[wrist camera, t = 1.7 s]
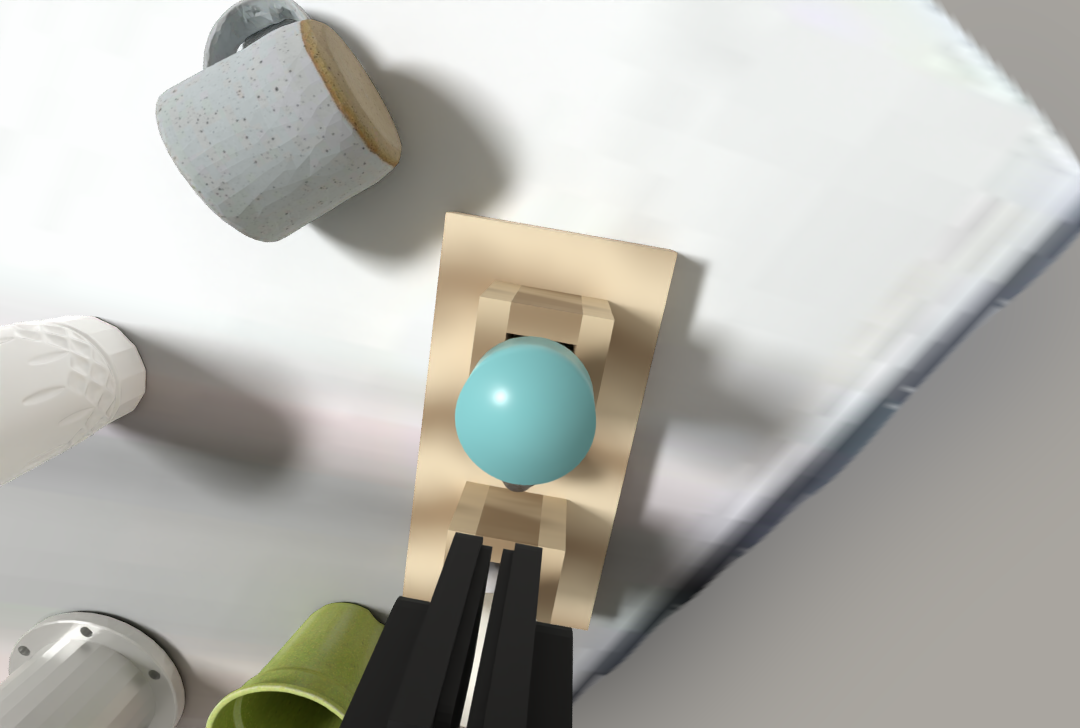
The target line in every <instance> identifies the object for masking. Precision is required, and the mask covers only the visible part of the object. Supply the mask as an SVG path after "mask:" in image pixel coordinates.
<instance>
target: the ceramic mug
mask: <svg viewBox="0 0 1080 728" xmlns="http://www.w3.org/2000/svg"><path fill="white" fill-rule="evenodd" d="M285 19H292V20H296V21H298V22H294V23H291V24H288V25H285V26H282V27H279V28H277V29H275V30H273V31H271V32H269V33H267V34H266V35H264V36H263V37H261V38H260V39H258V40H257V41H255V42H254V43H252V44H250V45H249V46H247V47H246V48H244V49H243V50H241V51H239V52H237V49H238V48H239V46H240V45H241V44H242V43H243V42H244V41H245V39H246V38H247V37H249V36H250V35H252V34H254V33H255V32H257V31H259V30H261V29H264V28H266V27H268V26H270V25H272V24H278V23H279V22H281V21H283V20H285ZM156 119H157V124H158V128H159V132H160V135H161V138H162V140H163V142H164V144H165V146H166V148H167V151H168V153H169V154H170V156H171V158H172V160H173V162H174V163H175V165H176V166H177V168H178V170H179V171H180V173H181V174H182V175H183V176H184V178H185V179H186V180H187V182H188V183H189V184H190V186H191V187H192V188H193V190H194V191H195V192H196V193H197V195H198V196H199V197H200V198H201V199H202V200H203V201H204V203H205V204H206V205H207V206H208V207H209V208H210V209H211V210H212V211H213V212H214V213H215V214H216V215H218V216H219V217H220V218H221V219H222V220H223V221H225V222H226V223H228V224H229V225H231V226H232V227H233V228H235V229H236V230H238V231H239V232H241V233H243V234H244V235H246V236H248V237H250V238H253V239H255V240H259V241H263V242H275V241H279V240H281V239H283V238H285V237H287V236H289V235H290V234H292V233H293V232H295V231H297V230H298V229H300V228H301V227H303V226H305V225H306V224H308V223H310V222H312V221H313V220H315V219H317V218H318V217H320V216H322V215H324V214H325V213H327V212H329V211H330V210H332V209H334V208H335V207H337V206H338V205H340V204H341V203H343V202H344V201H346V200H348V199H350V198H351V197H353V196H355V195H357V194H358V193H360V192H362V191H364V190H365V189H367V188H369V187H371V186H372V185H374V184H375V183H377V182H378V181H380V180H381V179H382V178H383V177H385V176H386V175H387V174H388V173H389V172H391V171H392V170H393V169H394V168H395V167H396V165H397V164H398V163H399V160H400V155H401V142H400V138H399V135H398V132H397V130H396V127H395V125H394V123H393V120H392V118H391V116H390V114H389V112H388V110H387V108H386V106H385V104H384V102H383V100H382V99H381V97H380V95H379V93H378V92H377V90H376V88H375V87H374V85H373V83H372V82H371V80H370V78H369V77H368V75H367V73H366V72H365V70H364V69H363V67H362V66H361V64H360V63H359V61H358V60H357V58H356V57H355V55H354V54H353V53H352V51H351V50H350V49H349V47H348V46H347V45H346V44H345V42H344V41H343V40H342V39H341V37H340V36H339V35H338V34H337V33H336V32H335V31H334V30H333V29H331V28H330V27H329V26H328V25H326V24H324V23H322V22H319V21H316V20H313V19H311V18H310V17H309V16H308V14H307V13H306V12H305V11H304V10H303V9H302V8H301V7H300V6H299V5H298V4H297V3H296V2H294V1H293V0H241V1H239V2H238V3H236V4H234V5H233V6H231V7H230V8H229V9H228V10H227V11H226V12H225V13H224V14H223V15H222V16H221V17H220V18H219V19H218V21H217V22H216V23H215V25H214V26H213V28H212V30H211V32H210V34H209V36H208V40H207V43H206V46H205V51H204V61H203V70H202V71H201V72H199V73H197V74H195V75H193V76H192V77H190V78H188V79H186V80H184V81H182V82H181V83H179V84H177V85H175V86H173V87H172V88H170V89H168V90H166V91H165V92H164V93H163V94H162V95H161V96H160V97H159V98H158V101H157V104H156Z"/></svg>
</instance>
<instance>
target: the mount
mask: <svg viewBox="0 0 1080 728" xmlns="http://www.w3.org/2000/svg"><path fill="white" fill-rule="evenodd" d="M677 254H678V253H677V252H675V251H673V250H670V249H664V248H659V247H653V246H647V245H642V244H636V243H630V242H625V241H619V240H613V239H608V238H602V237H596V236H591V235H585V234H579V233H573V232H568V231H562V230H556V229H551V228H545V227H539V226H534V225H528V224H522V223H517V222H511V221H505V220H500V219H494V218H488V217H483V216H477V215H471V214H465V213H460V212H446V215H445V224H444V233H443V242H442V250H441V259H440V268H439V277H438V286H437V295H436V304H435V313H434V322H433V330H432V339H431V348H430V357H429V366H428V375H427V384H426V393H425V401H424V410H423V419H422V428H421V437H420V446H419V455H418V464H417V473H416V481H415V490H414V499H413V508H412V517H411V526H410V535H409V544H408V553H407V561H406V570H405V579H404V588H403V597H407V598H413V599H418V600H424V601H429V602H431V599H432V596H433V593H434V590H435V588H436V585H437V582H438V579H439V577H440V574H441V571H442V568H443V565H444V563H445V560H446V557H447V554H448V552H449V549H450V546H451V543H452V540H453V538H454V535H455V533H456V532H459V533H464V534H470V535H475V536H481V537H483V545H487V546H492V547H493V548H492V555H491V561H490V562H495V563H500V561H501V557H502V552H503V549H509V550H514V548H515V543H519V544H525V545H530V546H536V547H541V548H543V551H542V562H541V573H540V583H539V594H538V605H537V616H536V619H537V621H538V622H543V623H549V624H555V625H560V626H566V627H571V628H577V629H582V630H588V627H589V623H590V619H591V615H592V610H593V606H594V602H595V598H596V594H597V589H598V585H599V581H600V577H601V573H602V568H603V564H604V560H605V556H606V552H607V547H608V543H609V539H610V535H611V531H612V526H613V522H614V518H615V514H616V510H617V505H618V501H619V497H620V493H621V489H622V485H623V480H624V476H625V472H626V468H627V464H628V459H629V455H630V451H631V447H632V443H633V438H634V434H635V430H636V426H637V422H638V417H639V413H640V409H641V405H642V401H643V396H644V392H645V388H646V384H647V380H648V375H649V371H650V367H651V363H652V359H653V354H654V350H655V346H656V342H657V338H658V333H659V329H660V325H661V321H662V317H663V313H664V308H665V304H666V300H667V296H668V292H669V287H670V283H671V279H672V275H673V271H674V266H675V262H676V258H677ZM524 336H534V337H542V338H546V339H550V340H552V341H555V342H557V343H559V344H561V345H563V346H565V347H566V348H568V349H569V350H570V351H572V352H573V353H574V354H575V355H576V356H577V357H578V358H579V359H580V361H581V362H582V363H583V365H584V366H585V368H586V370H587V371H588V374H589V376H590V379H591V382H592V386H593V393H594V402H595V412H596V430H595V436H594V439H593V442H592V445H591V447H590V449H589V451H588V453H587V454H586V456H585V457H584V459H583V460H582V461H581V462H580V463H579V465H577V466H576V467H575V468H574V469H573V470H572V471H570V472H569V473H568V474H566V475H564V476H563V477H561V478H559V479H556V480H554V481H551V482H548V483H544V484H538V485H534V486H532V487H530V488H529V489H528V490H526V491H523V492H513V491H511V490H509V489H508V488H506V487H505V485H504V484H503V482H502V481H501V480H499V479H496V478H494V477H493V476H491V475H489V474H487V473H486V472H484V471H483V470H481V469H480V468H479V467H478V466H477V465H476V464H475V463H474V462H473V461H472V460H471V459H470V458H469V456H468V455H467V454H466V452H465V451H464V449H463V447H462V445H461V443H460V440H459V438H458V435H457V431H456V425H455V409H456V404H457V400H458V397H459V395H460V392H461V390H462V388H463V386H464V385H465V383H466V381H467V380H468V378H469V376H470V374H471V373H472V371H473V369H474V368H475V366H476V364H477V363H478V362H479V360H480V359H481V358H482V357H483V356H484V354H485V353H486V352H488V351H489V350H490V349H491V348H493V347H494V346H496V345H498V344H499V343H501V342H504V341H506V340H509V339H513V338H517V337H524Z"/></svg>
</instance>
